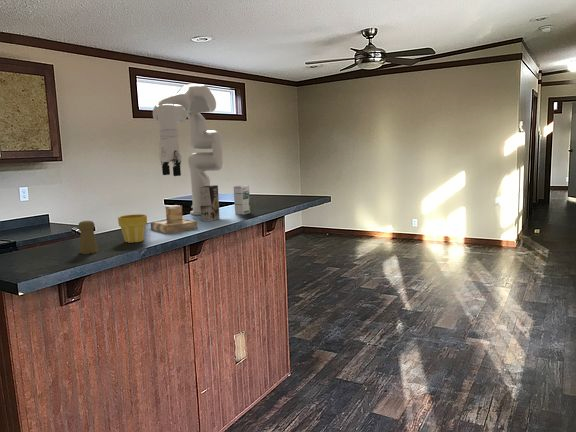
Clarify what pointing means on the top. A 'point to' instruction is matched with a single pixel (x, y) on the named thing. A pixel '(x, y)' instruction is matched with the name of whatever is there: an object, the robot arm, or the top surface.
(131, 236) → the plant pot
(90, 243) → the cork
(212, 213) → the coffee box
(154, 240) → the top surface
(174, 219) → the tan upright block
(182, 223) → the dock
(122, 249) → the top surface
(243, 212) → the syrup box
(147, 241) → the top surface
